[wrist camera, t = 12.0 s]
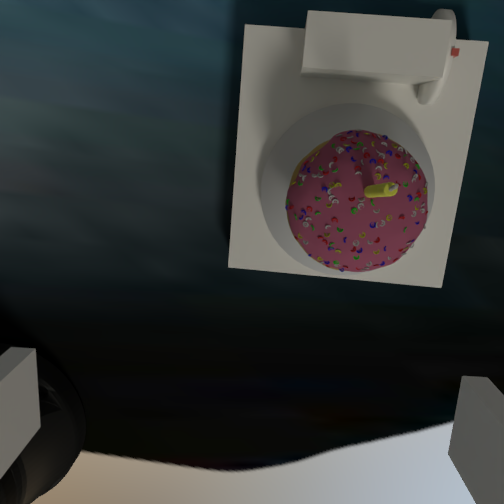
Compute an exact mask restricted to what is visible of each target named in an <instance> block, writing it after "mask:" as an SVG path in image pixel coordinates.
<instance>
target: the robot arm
mask: <svg viewBox="0 0 504 504" xmlns="http://www.w3.org/2000/svg"><path fill="white" fill-rule="evenodd" d="M85 434H86V419H85V413H84V409H83V406H82V403H81V400H80V398H79V396H78V394H77V392H76V390H75V388H74V387H73V385H72V384H71V383H70V381H69V380H68V379H67V377H66V376H65V375H64V374H63V373H62V372H61V371H60V370H59V369H58V368H57V367H56V366H54V365H53V364H52V363H51V362H49V361H48V360H46V359H45V358H43V357H42V356H40V355H38V354H36V349H34V348H22V347H19V346H15V345H11V344H5V343H0V504H30V503H32V502H33V501H34V500H35V499H37V498H38V497H39V496H41V495H43V494H45V493H46V492H48V491H49V490H51V489H52V488H53V487H55V486H56V485H57V484H58V483H59V482H60V481H61V480H62V479H63V477H65V475H66V474H67V473H68V471H69V470H70V468H71V467H72V465H73V463H74V462H75V460H76V459H77V457H78V456H79V454H80V452H81V449H82V447H83V444H84V440H85ZM448 455H449V456H450V458H451V460H452V462H453V464H454V465H455V467H456V469H457V471H458V472H459V474H460V476H461V478H462V480H463V481H464V483H465V485H466V487H467V488H468V490H469V492H470V494H471V495H472V497H473V499H474V501H475V503H476V504H504V395H503V394H502V393H501V392H500V391H499V390H498V389H497V388H496V386H495V385H494V384H493V383H492V382H491V381H490V380H489V379H488V378H487V377H472V376H462V380H461V385H460V391H459V396H458V402H457V407H456V413H455V418H454V424H453V429H452V435H451V440H450V446H449V451H448Z"/></svg>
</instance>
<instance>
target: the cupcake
mask: <svg viewBox="0 0 504 504" xmlns="http://www.w3.org/2000/svg"><path fill="white" fill-rule="evenodd" d="M385 136H386V137H385ZM427 186H428V182H427V181H426V178H425V175H424V173H423V171H422V169H421V168H420V166H419V164H418V163H417V161H416V160H415V159H414V158H413V156H412V155H411V154H410V153H409V152H408V151H407V150H406V149H405V148H403V147H402V146H401V145H399V144H398V143H396V142H395V141H393V140H391V139H389V138H388V136H387V135H381V134H376V133H373V132H370V131H366V130H362V129H357V130H348V131H343V132H340V133H338V134H336V135H334V136H333V137H332V138H331V139H330V140H328V141H325V142H323V143H321V144H319V145H318V146H316V147H315V148H314V149H313V150H312V151H311V152H310V153H309V154H307V155H306V156H305V157H304V158H303V159H302V160H301V161H300V162H299V163H298V165H297V166H296V168H295V170H294V172H293V175H292V178H291V181H290V185H289V189H288V191H287V197H286V201H285V209H286V212H287V219H288V223H289V227H290V229H291V232H292V234H293V236H294V238H295V239H296V241H297V242H298V243H299V245H300V246H301V247H302V248H303V250H304V251H305V252H306V253H307V254H308V256H310V257H311V258H312V259H314V260H315V261H317V262H319V263H320V264H322V265H324V266H326V267H328V268H331V269H334V270H339V271H341V272H343V271H351V272H365V271H370V270H374V269H378V268H382V267H385V266H388V265H391V264H393V263H395V262H396V261H397V260H399V259H400V258H401V257H402V256H403V255H405V254H407V253H406V252H407V250H408V249H409V248H413V247H414V242H415V240H416V239H417V238H418V236H419V235H420V233H421V232H422V230H423V229H425V228H426V226H425V224H426V221H427V214H428V190H427ZM424 226H425V227H424ZM412 244H413V246H412Z"/></svg>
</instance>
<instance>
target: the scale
mask: <svg viewBox="0 0 504 504" xmlns="http://www.w3.org/2000/svg"><path fill="white" fill-rule="evenodd" d="M488 43H489V42H485V41H471V40H457V39H456V17H455V14H454V12H453V10H450V9H438V10H437V11H436V12H435V13H434V14H433V16H432V18H431V19H426V18H412V17H397V16H383V15H369V14H354V13H340V12H326V11H311V10H308V13H307V19H306V25H305V29H303V28H289V27H275V26H261V25H247V24H245V31H244V46H243V60H242V74H241V89H240V103H239V118H238V132H237V147H236V161H235V175H234V190H233V204H232V219H231V233H230V248H229V262H228V267H232V268H242V269H252V270H262V271H273V272H283V273H293V274H304V275H314V276H324V277H334V278H345V279H355V280H365V281H376V282H386V283H396V284H407V285H417V286H427V287H437V288H441V287H442V282H443V277H444V271H445V266H446V261H447V256H448V251H449V245H450V240H451V235H452V230H453V225H454V220H455V214H456V209H457V204H458V199H459V194H460V188H461V183H462V178H463V173H464V168H465V163H466V157H467V152H468V147H469V142H470V137H471V131H472V126H473V121H474V116H475V111H476V106H477V100H478V95H479V90H480V85H481V80H482V74H483V69H484V64H485V59H486V54H487V49H488ZM357 129H362V130H366V131H370V132H373V133H376V134H381V135H387V136H388V138H389V139H391V140H393V141H395V142H396V143H398V144H399V145H401V146H402V147H403V148H405V149H406V150H407V151H408V152H409V153H410V154H411V155H412V156H413V158H414V159H415V160H416V161H417V163H418V164H419V166H420V168H421V169H422V171H423V173H424V175H425V178H426V181H427V182H428V186H427V190H428V214H427V221H426V224H425V226H426V228H425V229H423V230H422V232H421V233H420V235H419V236H418V238H417V239H416V240H415V242H414V247H413V248H409V249H408V250H407V252H406V253H407V254H405V255H403V256H402V257H401V258H400V259H399V260H397V261H396V262H395V263H393V264H391V265H388V266H385V267H382V268H378V269H374V270H370V271H365V272H351V271H343V272H341V271H339V270H334V269H331V268H328V267H326V266H324V265H322V264H320V263H319V262H317V261H315V260H314V259H312V258H311V257H310V256H308V254H307V253H306V252H305V251H304V250H303V248H302V247H301V246H300V245H299V243H298V242H297V241H296V239H295V238H294V236H293V234H292V232H291V229H290V227H289V223H288V219H287V212H286V209H285V201H286V197H287V191H288V189H289V185H290V181H291V178H292V175H293V172H294V170H295V168H296V166H297V165H298V163H299V162H300V161H301V160H302V159H303V158H304V157H305V156H306V155H307V154H309V153H310V152H311V151H312V150H313V149H314V148H315V147H316V146H318V145H319V144H321V143H323V142H325V141H328V140H330V139H331V138H332V137H333V136H334V135H336V134H338V133H340V132H343V131H348V130H357ZM385 137H386V136H385ZM425 226H424V227H425ZM412 246H413V244H412Z"/></svg>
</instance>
